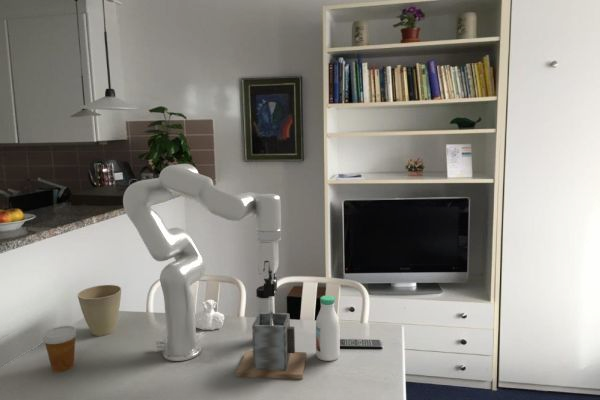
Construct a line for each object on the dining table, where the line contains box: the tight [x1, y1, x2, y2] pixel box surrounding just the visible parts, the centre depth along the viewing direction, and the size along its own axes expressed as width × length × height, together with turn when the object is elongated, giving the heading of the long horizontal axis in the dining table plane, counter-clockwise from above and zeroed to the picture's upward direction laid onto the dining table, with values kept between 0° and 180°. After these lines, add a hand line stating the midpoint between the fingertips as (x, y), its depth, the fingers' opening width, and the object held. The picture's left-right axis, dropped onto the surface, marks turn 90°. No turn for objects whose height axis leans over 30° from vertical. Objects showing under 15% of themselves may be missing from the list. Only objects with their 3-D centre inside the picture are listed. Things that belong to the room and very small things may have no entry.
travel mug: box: [255, 285, 276, 316], centre depth 160 cm, size 6×7×20 cm
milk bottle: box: [315, 295, 341, 362], centre depth 148 cm, size 8×8×20 cm
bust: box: [195, 299, 225, 331], centre depth 174 cm, size 12×8×11 cm
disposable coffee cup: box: [42, 325, 78, 373], centre depth 144 cm, size 10×10×12 cm
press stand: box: [235, 312, 307, 380], centre depth 142 cm, size 20×14×16 cm
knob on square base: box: [261, 277, 284, 326], centre depth 140 cm, size 8×8×17 cm
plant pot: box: [77, 284, 122, 337], centre depth 170 cm, size 15×15×16 cm
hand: (270, 292), depth 140 cm, fingers closed on knob on square base, 4 cm apart
